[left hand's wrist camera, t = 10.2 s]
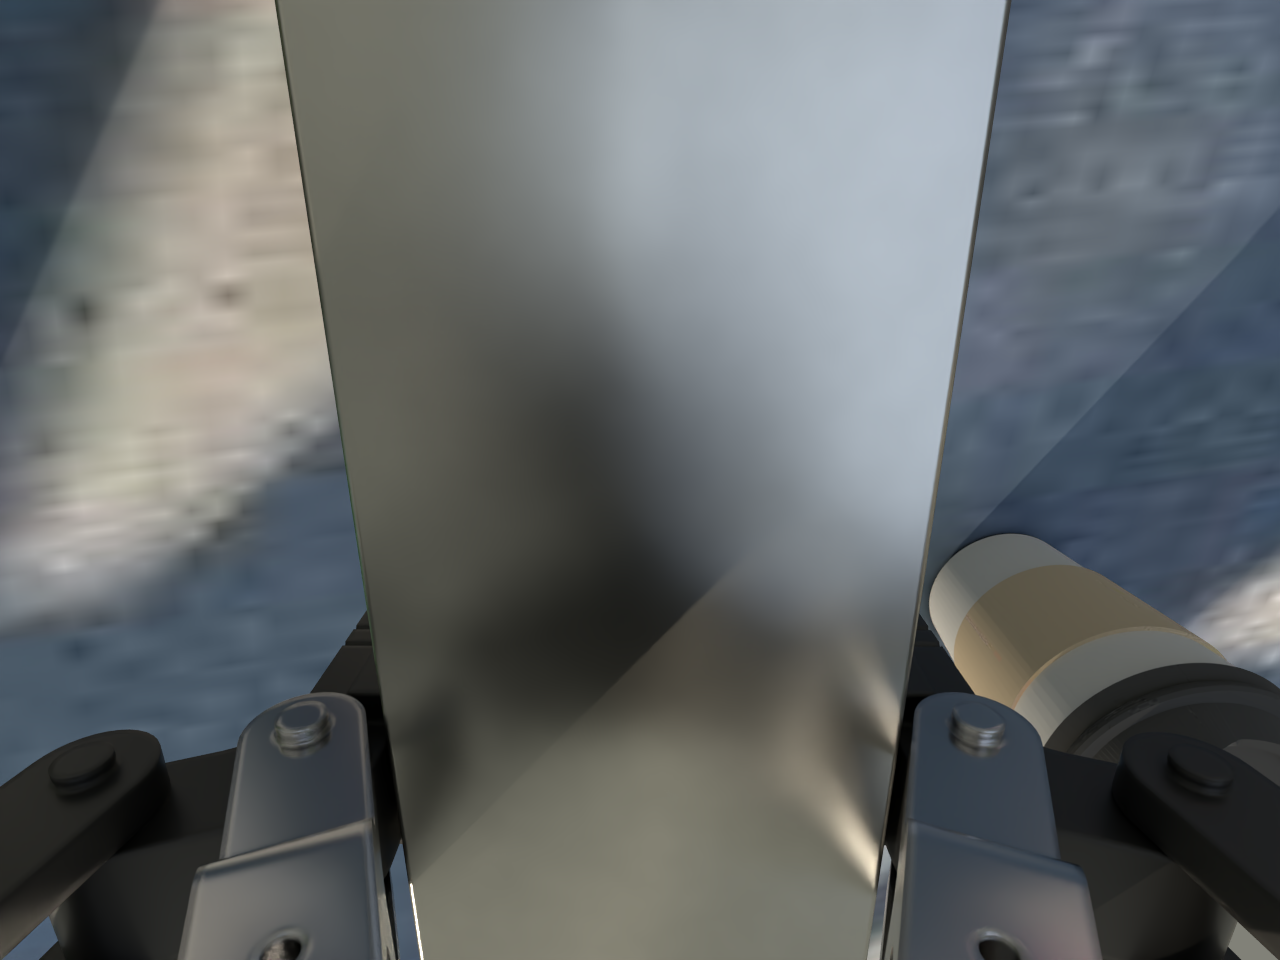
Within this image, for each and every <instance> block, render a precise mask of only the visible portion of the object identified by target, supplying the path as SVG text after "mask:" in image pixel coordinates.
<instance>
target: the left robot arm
mask: <svg viewBox="0 0 1280 960" xmlns="http://www.w3.org/2000/svg"><path fill="white" fill-rule="evenodd" d="M345 642H346V644H345V646H342V647H341V649H340V650H339V652H338V653H337V655H336V656H335V658H334V659H333V660H332V662H331V663H330V665H329V666H328V668H327V669H326V671H325V672H324V674H323V675H322V676H321V678H320V679H319V681H318V682H317V684H316V685H315V687H314V688H313V690H312V691H311V693H310V694H306V695H301V696H298V697H294V698H291V699H288V700H285V701H283V702H281V703H279V704H276V705H274V706H272V707H271V708H269V709H267V710H265V711H264V712H262V713H261V714H260V715H258V716H257V717H256V718H254V719H253V720H252V721H251V722H250V723H249V724H248V725H247V726H246V728H245V729H244V730H243V732H242V734H241V735H240V737H239V740H238V744H237V747H236V748H232V749H228V750H224V751H220V752H215V753H210V754H206V755H201V756H196V757H192V758H187V759H182V760H177V761H173V762H168V763H165V760H164V756H163V753H162V749H161V746H160V743H159V741H158V739H157V738H155V737H154V736H153V735H151V734H149V733H147V732H143V731H139V730H115V731H108V732H103V733H99V734H94V735H91V736H88V737H85V738H81V739H79V740H76V741H74V742H71V743H68V744H66V745H64V746H62V747H60V748H58V749H56V750H54V751H52V752H50V753H48V754H47V755H45V756H43V757H42V758H40V759H39V760H37V761H36V762H34V763H33V764H31V765H30V766H28V767H27V768H26V769H24V770H23V771H22V772H20V773H19V774H17V775H16V776H15V777H13V778H12V779H10V780H9V781H8V782H6V783H5V784H3V785H2V786H1V787H0V960H2V959H3V958H4V957H5V956H6V955H7V954H8V953H9V952H10V951H11V950H12V949H14V948H15V947H16V946H17V945H18V944H19V943H20V942H21V941H22V940H23V939H24V938H25V937H26V936H27V935H28V934H30V933H31V932H32V931H33V930H34V929H35V928H36V927H37V926H38V925H39V924H40V923H41V922H42V921H43V920H44V919H46V918H47V917H48V916H49V918H50V920H51V923H52V926H53V928H54V931H55V933H56V936H57V939H58V941H57V942H56V943H55V944H54V945H53V946H52V947H51V948H50V949H49V950H48V951H47V952H46V953H45V954H44V955H43V956H42V957H41V958H40V959H39V960H400V952H399V942H398V932H397V923H396V913H395V903H394V894H393V884H392V878H391V872H390V867H391V865H392V862H393V859H394V857H395V854H396V851H397V849H398V846H399V844H403V843H402V836H401V830H400V823H399V817H398V810H397V803H396V797H395V790H394V784H393V777H392V770H391V764H390V757H389V751H388V744H387V738H386V731H385V724H384V718H383V711H382V705H381V698H380V691H379V685H378V678H377V672H376V665H375V658H374V652H373V645H372V639H371V632H370V625H369V619H368V612H367V611H366V612H365V614H364V615H363V617H362V618H361V620H360V621H359V622H358V624H357V625H356V629H354V630H353V631H352V633H351V634H350V636H349V637H348V639H347V640H346V641H345ZM884 845H886V847H887V849H888V852H889V854H890V857H891V865H890V872H889V878H888V884H887V894H886V903H885V913H884V923H883V932H882V942H881V952H880V960H1241V959H1240V958H1239V957H1238V956H1237V955H1236V954H1235V953H1234V952H1233V951H1232V950H1231V949H1230V948H1229V947H1228V945H1229V942H1230V940H1231V937H1232V935H1233V932H1234V929H1235V927H1236V924H1237V922H1239V923H1240V924H1241V925H1242V926H1243V927H1244V928H1245V929H1246V930H1247V931H1248V932H1250V934H1252V935H1253V936H1254V937H1255V938H1256V939H1257V940H1258V941H1259V942H1260V943H1261V944H1262V945H1263V946H1264V947H1265V948H1267V949H1268V950H1269V951H1270V952H1271V953H1272V954H1273V955H1274V956H1275V957H1276V958H1277V959H1278V960H1280V787H1279V786H1278V785H1277V784H1275V783H1274V782H1272V781H1271V780H1270V779H1268V778H1267V777H1265V776H1264V775H1263V774H1261V773H1260V772H1259V771H1257V770H1256V769H1254V768H1253V767H1252V766H1250V765H1249V764H1247V763H1246V762H1244V761H1243V760H1241V759H1240V758H1238V757H1236V756H1234V755H1232V754H1231V753H1229V752H1227V751H1225V750H1223V749H1221V748H1218V747H1216V746H1214V745H1212V744H1209V743H1206V742H1204V741H1201V740H1198V739H1195V738H1191V737H1188V736H1183V735H1179V734H1174V733H1166V732H1144V733H1140V734H1136V735H1134V736H1132V737H1130V738H1129V739H1128V740H1126V741H1125V743H1124V745H1123V747H1122V751H1121V754H1120V758H1119V761H1118V764H1116V763H1112V762H1107V761H1102V760H1097V759H1093V758H1088V757H1083V756H1078V755H1074V754H1069V753H1064V752H1060V751H1056V750H1053V749H1049V748H1046V747H1043V744H1042V740H1041V737H1040V735H1039V734H1038V732H1037V730H1036V729H1035V728H1034V726H1033V725H1032V724H1031V723H1030V722H1029V721H1028V720H1027V719H1026V718H1024V717H1023V716H1022V715H1020V714H1019V713H1018V712H1016V711H1015V710H1013V709H1011V708H1009V707H1008V706H1006V705H1004V704H1001V703H999V702H997V701H995V700H992V699H989V698H986V697H982V696H979V695H975V693H974V692H973V690H972V689H971V687H970V686H969V684H968V683H967V682H966V680H965V679H964V677H963V676H962V674H961V673H960V672H959V670H958V669H957V667H956V666H955V664H954V663H953V661H952V660H951V659H950V657H949V656H948V654H947V653H946V651H945V650H944V648H943V647H940V646H939V641H938V640H937V638H936V637H935V636H934V634H933V633H932V631H931V630H928V625H927V624H926V623H925V621H924V620H923V618H922V617H921V615H920V614H919V616H918V623H917V629H916V636H915V643H914V649H913V656H912V662H911V669H910V676H909V682H908V689H907V696H906V702H905V709H904V715H903V722H902V729H901V735H900V742H899V749H898V755H897V762H896V769H895V775H894V782H893V788H892V795H891V802H890V808H889V815H888V822H887V828H886V835H885V841H884Z"/></svg>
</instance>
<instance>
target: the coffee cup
mask: <svg viewBox="0 0 1280 960" xmlns="http://www.w3.org/2000/svg"><path fill="white" fill-rule="evenodd" d="M929 609H930V615H931V619H932V622H933V624H934V626H935V628H936V630H937V631H938V633H939V635H940V637H941V639H942V640H943V642H944V644H945V646H946V648H947V650H948V651H949V653H950V655H951V657H952V659H953V661H954V662H955V666H956V667H957V669H958V670H959V672H960V673H961V674H962V676H963V677H964V679H965V680H966V682H967V683H968V684H969V686H970V687H971V689H972V690H973V692H974V693H975V695H979V696H982V697H986V698H989V699H992V700H995V701H997V702H999V703H1001V704H1004V705H1006V706H1008V707H1009V708H1011V709H1013V710H1015V711H1016V712H1018V713H1019V714H1020V715H1022V716H1023V717H1024V718H1026V719H1027V720H1028V721H1029V722H1030V723H1031V724H1032V725H1033V726H1034V728H1035V729H1036V730H1037V732H1038V734H1039V735H1040V737H1041V740H1042V744H1043V747H1046V748H1049V749H1053V750H1056V751H1060V752H1064V753H1069V754H1074V755H1078V756H1083V757H1088V758H1093V759H1097V760H1102V761H1107V762H1112V763H1116V764H1118V761H1119V758H1120V754H1121V751H1122V747H1123V745H1124V743H1125V741H1126V740H1128V739H1129V738H1130V737H1132V736H1134V735H1136V734H1140V733H1144V732H1166V733H1174V734H1179V735H1183V736H1188V737H1191V738H1195V739H1198V740H1201V741H1204V742H1206V743H1209V744H1212V745H1214V746H1216V747H1218V748H1221V749H1223V750H1225V751H1227V752H1229V753H1231V754H1232V755H1234V756H1236V757H1238V758H1240V759H1241V760H1243V761H1244V762H1246V763H1247V764H1249V765H1250V766H1252V767H1253V768H1254V769H1256V770H1257V771H1259V772H1260V773H1261V774H1263V775H1264V776H1265V777H1267V778H1268V779H1270V780H1271V781H1272V782H1274V783H1275V784H1277V785H1278V786H1279V787H1280V689H1279V688H1278V687H1277V686H1275V685H1274V684H1273V683H1271V682H1270V681H1268V680H1267V679H1265V678H1263V677H1261V676H1259V675H1257V674H1255V673H1253V672H1250V671H1247V670H1244V669H1241V668H1238V667H1235V666H1234V665H1232V664H1231V663H1229V662H1228V661H1227V660H1226V659H1225V658H1224V656H1223V655H1222V654H1221V653H1220V652H1219V651H1218V650H1217V649H1215V648H1214V647H1213V646H1212V645H1210V644H1209V643H1207V642H1206V641H1204V640H1203V639H1201V638H1199V637H1198V636H1196V635H1195V634H1193V633H1192V632H1190V631H1188V630H1187V629H1185V628H1184V627H1182V626H1181V625H1179V624H1178V623H1176V622H1174V621H1173V620H1171V619H1170V618H1168V617H1167V616H1165V615H1164V614H1162V613H1160V612H1159V611H1157V610H1156V609H1154V608H1153V607H1151V606H1149V605H1148V604H1146V603H1145V602H1143V601H1142V600H1140V599H1139V598H1137V597H1135V596H1134V595H1132V594H1131V593H1129V592H1128V591H1126V590H1124V589H1123V588H1121V587H1120V586H1118V585H1117V584H1115V583H1114V582H1112V581H1110V580H1109V579H1107V578H1106V577H1104V576H1102V575H1101V574H1099V573H1097V572H1095V571H1092V570H1089V569H1086V568H1084V567H1082V566H1081V565H1079V564H1078V563H1076V562H1075V561H1073V560H1071V559H1070V558H1068V557H1067V556H1065V555H1064V554H1062V553H1061V552H1059V551H1058V550H1056V549H1055V548H1053V547H1052V546H1050V545H1049V544H1047V543H1045V542H1044V541H1042V540H1040V539H1037V538H1035V537H1032V536H1028V535H1022V534H1001V535H995V536H991V537H987V538H984V539H981V540H979V541H976V542H974V543H972V544H970V545H968V546H967V547H965V548H964V549H962V550H961V551H959V552H958V553H957V554H955V555H954V556H953V557H952V558H951V559H950V560H949V561H948V562H947V563H946V564H945V565H944V567H943V568H942V569H941V571H940V572H939V574H938V575H937V577H936V579H935V581H934V584H933V586H932V589H931V593H930V600H929Z"/></svg>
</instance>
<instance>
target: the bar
mask: <svg viewBox="0 0 1280 960" xmlns="http://www.w3.org/2000/svg"><path fill="white" fill-rule="evenodd" d="M275 5H276V12H277V18H278V25H279V32H280V38H281V45H282V51H283V58H284V65H285V71H286V78H287V84H288V91H289V98H290V104H291V111H292V117H293V124H294V131H295V137H296V144H297V150H298V157H299V164H300V170H301V177H302V183H303V190H304V197H305V203H306V210H307V216H308V223H309V230H310V236H311V243H312V249H313V256H314V263H315V269H316V276H317V282H318V289H319V296H320V302H321V309H322V315H323V322H324V329H325V335H326V342H327V348H328V355H329V361H330V368H331V375H332V381H333V388H334V394H335V401H336V408H337V414H338V421H339V427H340V434H341V441H342V447H343V454H344V460H345V467H346V474H347V480H348V487H349V493H350V500H351V507H352V513H353V520H354V526H355V533H356V540H357V546H358V553H359V559H360V566H361V573H362V579H363V586H364V592H365V599H366V606H367V612H368V619H369V625H370V632H371V639H372V645H373V652H374V658H375V665H376V672H377V678H378V685H379V691H380V698H381V705H382V711H383V718H384V724H385V731H386V738H387V744H388V751H389V757H390V764H391V770H392V777H393V784H394V790H395V797H396V803H397V810H398V817H399V823H400V830H401V836H402V843H403V850H404V856H405V863H406V869H407V876H408V883H409V889H410V896H411V902H412V909H413V916H414V922H415V929H416V935H417V942H418V949H419V955H420V960H867V954H868V948H869V941H870V934H871V928H872V921H873V914H874V908H875V901H876V895H877V888H878V881H879V875H880V868H881V861H882V855H883V848H884V841H885V835H886V828H887V822H888V815H889V808H890V802H891V795H892V788H893V782H894V775H895V769H896V762H897V755H898V749H899V742H900V735H901V729H902V722H903V715H904V709H905V702H906V696H907V689H908V682H909V676H910V669H911V662H912V656H913V649H914V643H915V636H916V629H917V623H918V616H919V609H920V603H921V596H922V589H923V583H924V576H925V570H926V563H927V556H928V550H929V543H930V536H931V530H932V523H933V516H934V510H935V503H936V497H937V490H938V483H939V477H940V470H941V463H942V457H943V450H944V444H945V437H946V430H947V424H948V417H949V410H950V404H951V397H952V390H953V384H954V377H955V371H956V364H957V357H958V351H959V344H960V337H961V331H962V324H963V317H964V311H965V304H966V298H967V291H968V284H969V278H970V271H971V264H972V258H973V251H974V245H975V238H976V231H977V225H978V218H979V211H980V205H981V198H982V191H983V185H984V178H985V172H986V165H987V158H988V152H989V145H990V138H991V132H992V125H993V119H994V112H995V105H996V99H997V92H998V85H999V79H1000V72H1001V65H1002V59H1003V52H1004V46H1005V39H1006V32H1007V26H1008V19H1009V12H1010V6H1011V0H275Z"/></svg>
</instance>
